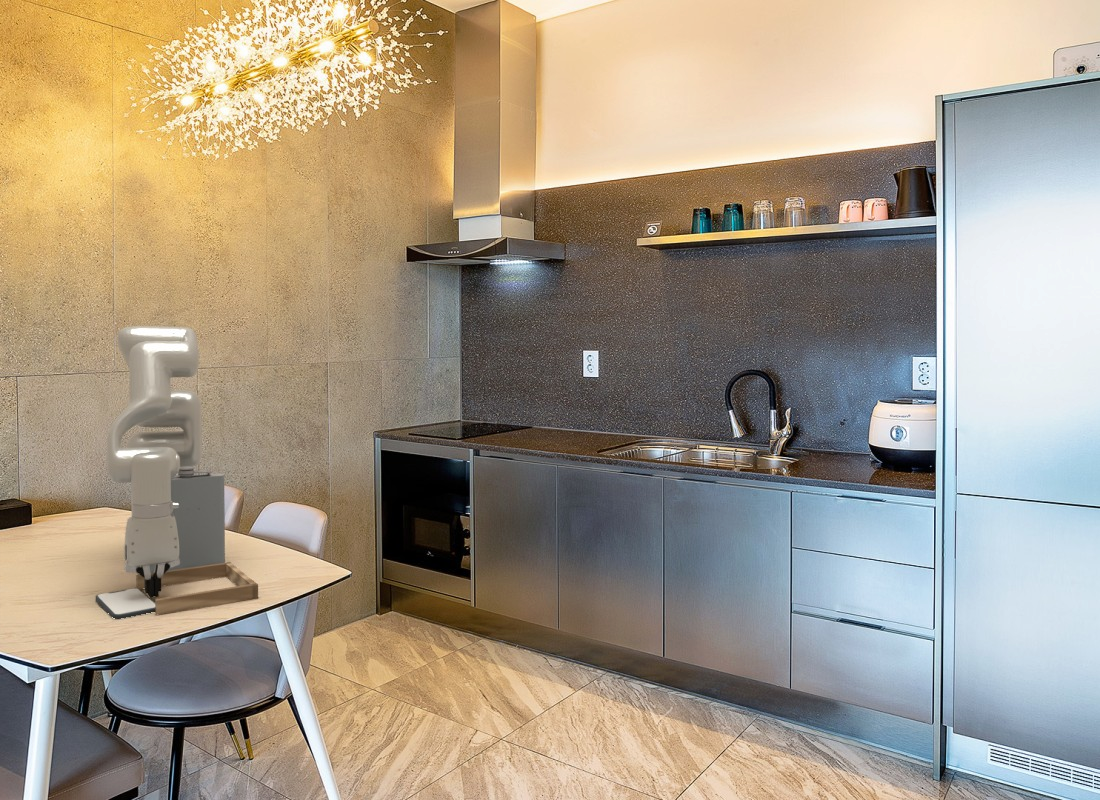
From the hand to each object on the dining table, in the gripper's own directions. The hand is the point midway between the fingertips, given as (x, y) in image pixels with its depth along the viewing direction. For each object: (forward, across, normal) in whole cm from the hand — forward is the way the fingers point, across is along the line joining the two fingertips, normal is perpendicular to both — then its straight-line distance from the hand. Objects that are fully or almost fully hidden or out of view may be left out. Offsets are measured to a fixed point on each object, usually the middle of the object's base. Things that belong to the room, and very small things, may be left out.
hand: (153, 595), depth 175 cm
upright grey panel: (+1, -12, -21) cm, 24 cm away
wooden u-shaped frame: (+1, -9, 0) cm, 9 cm away
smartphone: (+2, +5, +1) cm, 6 cm away
